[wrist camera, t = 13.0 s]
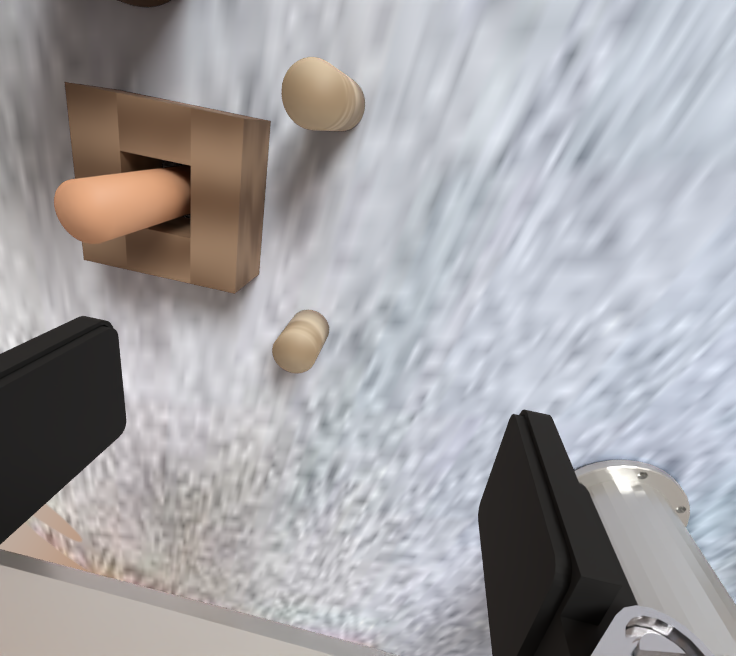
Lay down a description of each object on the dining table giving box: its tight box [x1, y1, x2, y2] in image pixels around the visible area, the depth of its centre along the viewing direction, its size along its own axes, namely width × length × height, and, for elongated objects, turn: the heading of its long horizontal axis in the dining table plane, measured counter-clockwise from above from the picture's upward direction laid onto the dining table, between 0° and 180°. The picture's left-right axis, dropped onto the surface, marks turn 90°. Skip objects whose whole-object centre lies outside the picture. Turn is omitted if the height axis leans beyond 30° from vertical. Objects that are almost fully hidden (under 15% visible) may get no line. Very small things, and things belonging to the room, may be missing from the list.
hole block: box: [65, 82, 271, 294], centre depth 32 cm, size 12×12×5 cm
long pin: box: [54, 165, 191, 244], centre depth 29 cm, size 4×4×12 cm
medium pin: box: [282, 57, 365, 131], centre depth 27 cm, size 4×4×8 cm
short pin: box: [272, 310, 329, 373], centre depth 36 cm, size 4×4×5 cm
